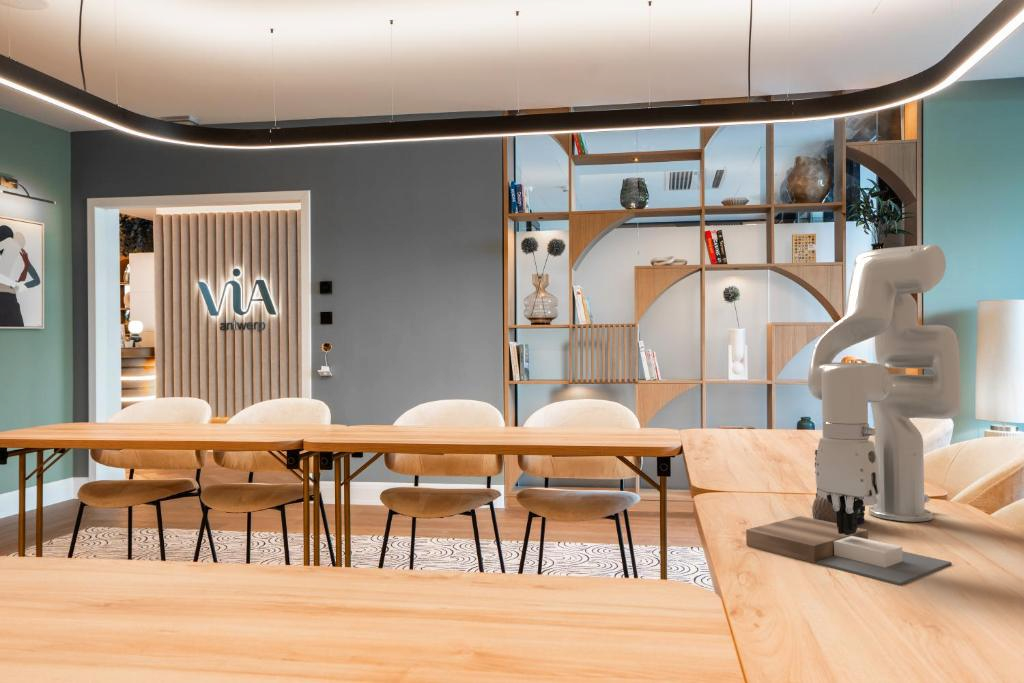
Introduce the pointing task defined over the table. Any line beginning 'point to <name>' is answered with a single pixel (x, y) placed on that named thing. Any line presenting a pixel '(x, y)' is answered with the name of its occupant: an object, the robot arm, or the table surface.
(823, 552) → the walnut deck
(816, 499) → the vase
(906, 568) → the charcoal mat
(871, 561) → the ivory tile
